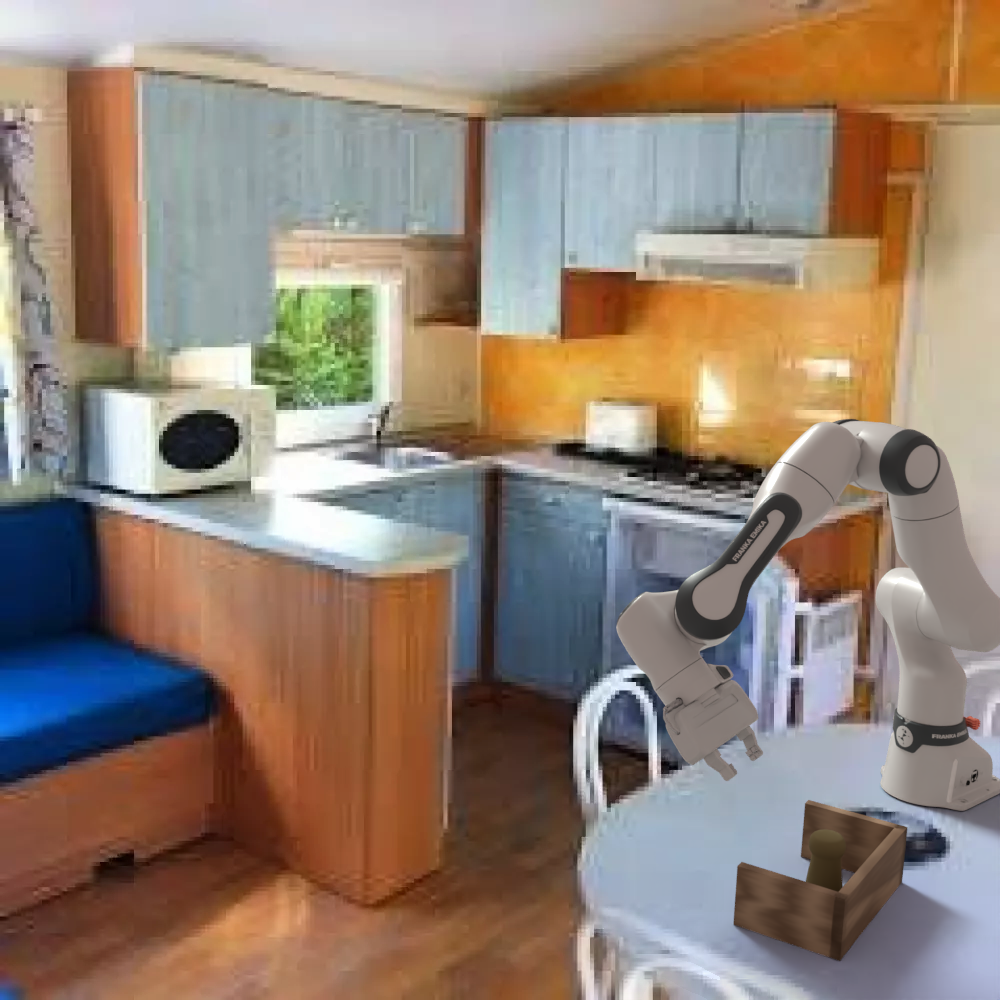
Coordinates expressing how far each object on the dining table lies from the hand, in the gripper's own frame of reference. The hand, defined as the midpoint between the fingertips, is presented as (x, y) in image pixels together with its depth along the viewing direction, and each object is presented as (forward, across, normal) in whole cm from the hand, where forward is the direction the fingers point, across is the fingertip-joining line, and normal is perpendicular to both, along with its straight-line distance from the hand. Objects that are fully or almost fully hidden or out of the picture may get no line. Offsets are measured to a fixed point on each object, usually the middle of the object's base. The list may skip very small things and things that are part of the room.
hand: (745, 767), depth 192 cm
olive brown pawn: (+22, 0, +3) cm, 22 cm away
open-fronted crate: (+22, 0, +3) cm, 22 cm away
